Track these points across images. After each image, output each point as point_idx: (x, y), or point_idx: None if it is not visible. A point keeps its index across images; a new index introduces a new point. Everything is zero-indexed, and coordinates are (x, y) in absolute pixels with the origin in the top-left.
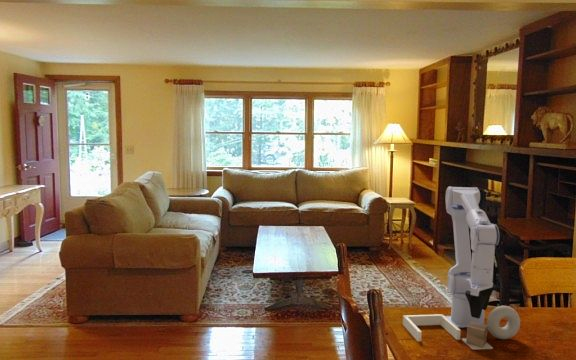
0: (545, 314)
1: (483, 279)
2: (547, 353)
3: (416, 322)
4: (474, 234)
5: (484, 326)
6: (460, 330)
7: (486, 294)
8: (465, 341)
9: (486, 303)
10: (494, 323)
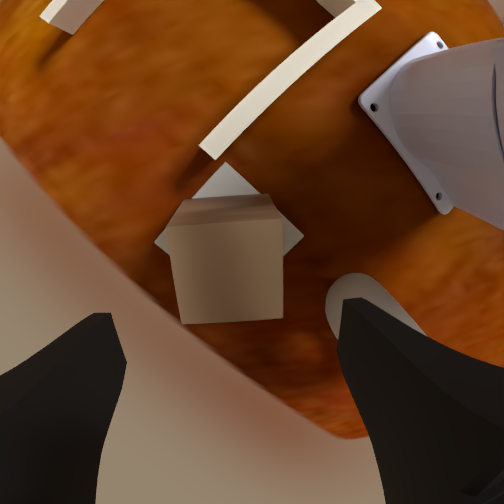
0: None
1: None
2: (322, 416)
3: None
4: None
5: (252, 309)
6: (215, 158)
7: (393, 462)
8: (201, 190)
9: (358, 394)
10: (335, 336)
